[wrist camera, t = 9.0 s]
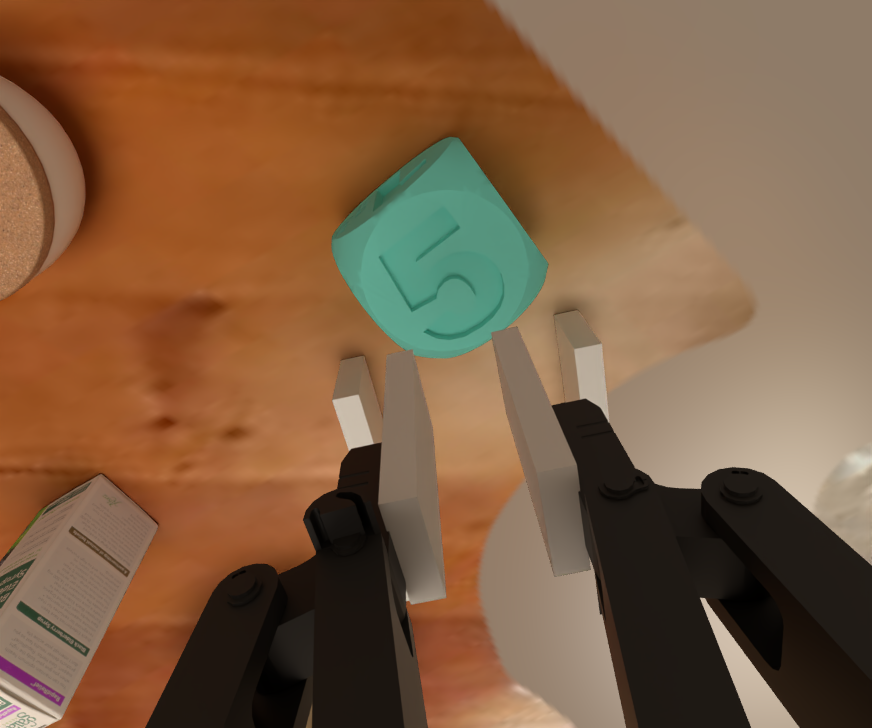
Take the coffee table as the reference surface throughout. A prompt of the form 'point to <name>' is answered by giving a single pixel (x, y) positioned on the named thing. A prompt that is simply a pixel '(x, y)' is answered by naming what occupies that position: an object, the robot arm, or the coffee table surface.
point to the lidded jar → (34, 189)
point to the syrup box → (64, 596)
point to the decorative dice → (439, 255)
